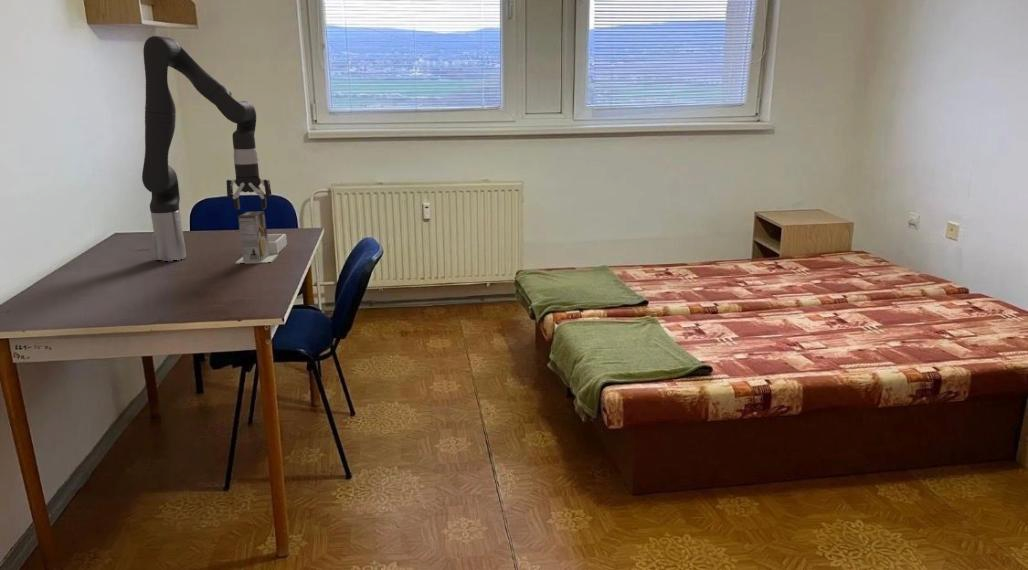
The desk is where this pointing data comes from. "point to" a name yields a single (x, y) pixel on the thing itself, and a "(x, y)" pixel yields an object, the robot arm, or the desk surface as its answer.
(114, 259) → the desk surface
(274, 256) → the mat
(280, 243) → the bin
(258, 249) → the coffee box
